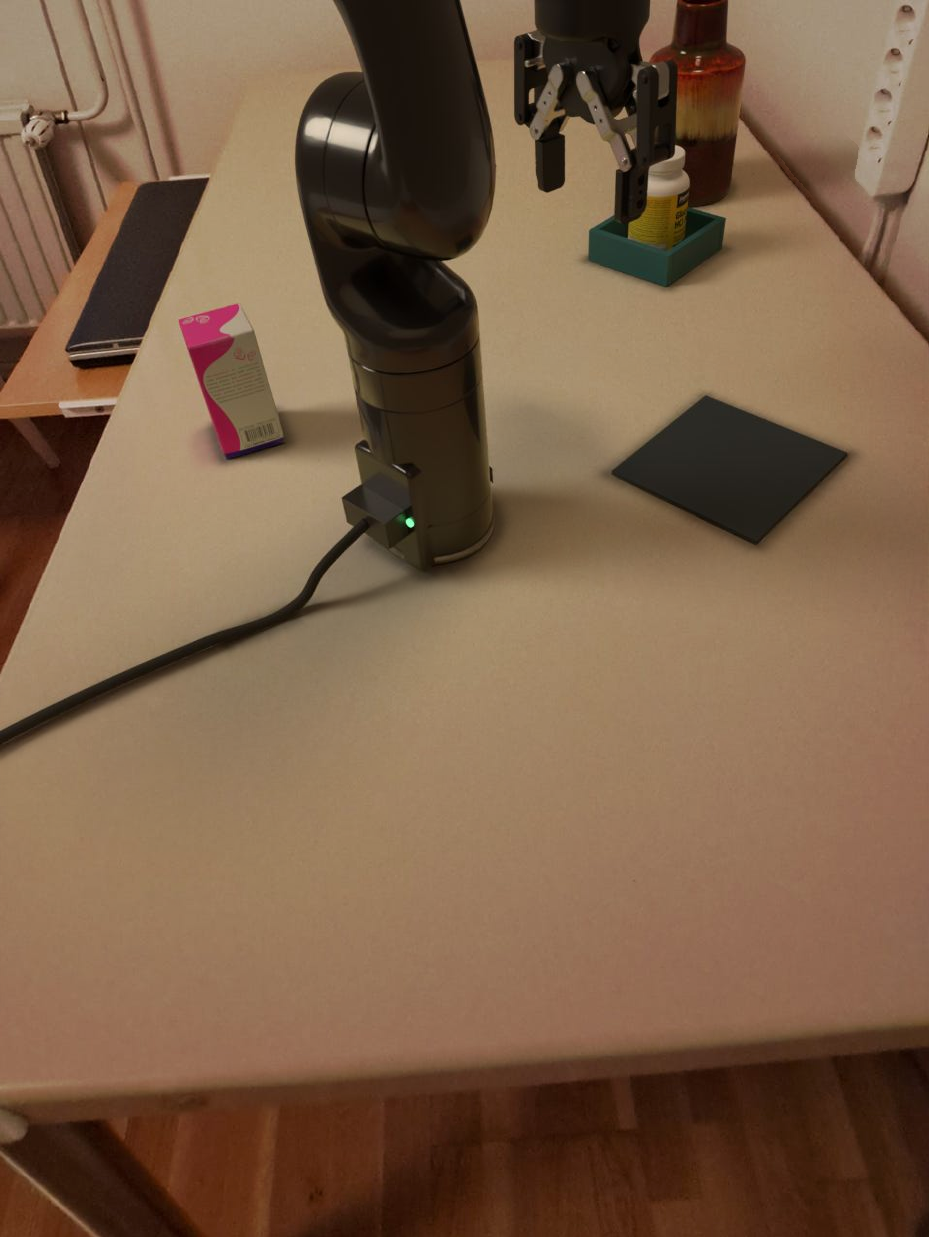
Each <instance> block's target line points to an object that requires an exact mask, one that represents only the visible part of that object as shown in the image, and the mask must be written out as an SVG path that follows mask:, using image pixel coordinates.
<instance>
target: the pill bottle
mask: <svg viewBox="0 0 929 1237" xmlns="http://www.w3.org/2000/svg"><path fill="white" fill-rule="evenodd" d="M684 164H685V150H684V149H683V148H682V147H680V146H677V145H675V154H674V156H673V157H672V158H671V159H668V160H665V161H662V162H660V163H657V164H655V165H652V166H650V168H649V174H648V191H647V206H646V209H645V211H644V212H643V213H642V215H641V217H640V218H639V219H637V220H634V221H632V222H629V228H628V239H631V240H634V241H637V242H640V243H643V244H647V245H650V246H653V247H656V248H659V249H662V250H665V251H668V250H670V249H671V248H673V247H674V246H676V245H677V244H679V243H680V242H682V241H683V240H684V237H685V227H686V216H687V206H688V197H689V188H690V180H689V177H688V175H687V173H686V172H685V171H684V170H682V168H683V167H684Z"/></svg>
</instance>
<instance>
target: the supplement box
mask: <svg viewBox="0 0 929 1237" xmlns="http://www.w3.org/2000/svg"><path fill="white" fill-rule="evenodd" d="M178 324H179V328H180V331H181V334H182V337H183V340H184V343H185V347H186V349H187V352H188V355H189V358H190V360H191V361H190V362H191V364H192V367H193V369H194V373H195V375H196V376H195V377H196V378H197V379H196V380H197V381H198V385H199V387H200V391H201V393H202V397H203V399H204V402H205V405H206V408H207V410H208V411H207V412H208V414H209V417H210V420H211V423H212V426H213V429H214V431H215V434H216V438H217V440H218V443H219V446H220V448H221V451H222V455H223V457H224V458H225V460H230V459H233V458H236V457H241V456H243V455H246V454H249V453H253V452H256V451H259V450H264V449H266V448H270V447H274V446H277V445H280V444H284V443H286V440H285V436H284V432H283V428H282V424H281V420H280V417H279V413H278V410H277V406H276V403H275V399H274V396H273V392H272V388H271V386H270V385H271V384H270V382H269V379H268V375H267V371H266V367H265V364H264V360H263V358H262V353H261V350H260V345H259V342H258V339H257V336H256V333H255V329H254V327H253V325H252V323H251V322H250V320H249V318H248V316H247V314H246V312H245V310H244V308H243V307H242V304H241V303H240V302H237V303H234V304H230V305H227V306H223V307H219V308H216V309H212V310H208V311H205V312H200V313H198V314H193V315H190V316H187V317H183V318H179V319H178Z"/></svg>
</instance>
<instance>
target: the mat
mask: <svg viewBox="0 0 929 1237" xmlns="http://www.w3.org/2000/svg"><path fill="white" fill-rule="evenodd" d="M847 457H848V452H847V451H844V450H842V449H840V448H837V447H835V446H833V445H830V444H827V443H824V442H823V441H820V440H818V439H815V438H813V437H811V436H808V435H805V434H803V433H800V432H798V431H795V430H792V429H791V428H788V427H785V426H783V425H781V424H778V423H776V422H773V421H770V420H769V419H766V418H763V417H762V416H758V415H756V414H753V413H751V412H748V411H746V410H743V409H741V408H738V407H736V406H734V405H731V404H728V403H726V402H724V401H721V400H719V399H716V398H714V397H711V396H709V395H707V394H706V395H704V396H702V397H701V398H700V399H699V400H697V401H696V402H694V404H693V405H691V406H690V407H689V408H688V409H686V410H685V411H684V412H683V413H682V414H680V415H679V416H678V417H677V418H675V419H674V420H673V421H672V422H670V423H669V424H668V425H667V426H665V427H664V428H663V429H662V430H660V431H659V432H658V433H657V434H656V435H654V436H653V437H652V438H650V439H649V440H648V441H647V442H645V444H643V445H642V446H640V447H639V448H638V449H636V451H634V452H633V453H632V454H631V455H629V456H628V457H626V459H625V460H623V461H622V462H621V463H620V464H618V465H617V466H615V468H613V469H612V470H611V473H610V474H611V475H612V476H614V477H616V478H618V479H620V480H622V481H624V482H626V483H628V484H631V485H632V486H634V487H636V488H638V489H640V490H642V491H645V492H646V493H649V494H651V495H652V496H655V497H657V498H659V499H661V500H663V501H665V502H668V503H669V504H672V505H674V506H675V507H678V508H680V509H682V510H684V511H686V512H688V513H689V514H692V515H694V516H696V517H698V518H701V519H703V520H704V521H706V522H709V523H711V524H713V525H714V526H717V527H719V528H721V529H723V530H725V531H727V532H729V533H731V534H733V535H735V536H738V537H740V538H742V539H744V540H746V541H748V542H750V543H751V544H754V545H757V544H759V543H760V542H761V541H762V540H763V539H764V538H765V536H767V534H769V533H770V532H771V531H772V530H773V529H774V528H775V527H776V526H777V525H778V524H779V523H780V522H781V521H782V520H783V519H784V518H785V517H786V516H787V515H788V514H789V513H790V512H791V511H792V510H793V509H795V508H796V506H798V505H799V503H800V502H802V501H803V499H804V498H806V497H807V496H808V495H809V494H810V493H811V492H812V491H813V490H814V488H816V487H817V486H818V485H819V484H820V483H821V482H822V481H823V480H824V479H825V478H826V477H827V476H828V475H829V474H830V473H831V472H832V471H833V470H834V469H836V467H837V466H838V465H840V464H841V463H842V462H843V461H844V460H845V459H846V458H847Z"/></svg>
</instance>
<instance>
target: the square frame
mask: <svg viewBox="0 0 929 1237" xmlns="http://www.w3.org/2000/svg"><path fill="white" fill-rule="evenodd" d="M726 221H727V218H726V217H725V216H720V215H717V214H714V213H710V212H707V211H703V210H701V209H696V208H692V207H687V216H686V227H685V237H684V240H683V241H682V242H680V243H679V244H677V245H676V246H674V247H673V248H671V249H670V250H668V251H665V250H662V249H659V248H656V247H653V246H650V245H647V244H643V243H640V242H637V241H634V240H631V239H628V228H629V223H627V224H621V223H619V222H616V221H615V219H614V214H613V215H612V216H609V217H608V218H606V219H605V220H603V221H602V222H600V223H598V224H596V225H595V226H593V227H591V228H590V229H588V255H587V257H588V259H587V260H588V261H590V262H591V263H595V264H598V265H601V266H604V267H607V268H610V269H612V270H615V271H618V272H621V273H624V274H628V275H630V276H633V277H636V278H639V279H642V280H645V281H648V282H651V283H653V284H657V285H659V286H663V287H664V288H667V287H669V286H670V285H671V284H673V283H675V282H676V281H678V280H679V279H680V278H681V277H683V276H685V275H686V274H687V273H689V272H690V271H692V270H693V269H695V268H696V267H697V266H699V265H701V264H702V263H703V262H705V261H706V260H707V259H709V258H711V257H712V256H713V255H715V254H716V253H718V252H719V251H721V250H722V249H723V244H724V237H725V236H724V235H725V227H726Z"/></svg>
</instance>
